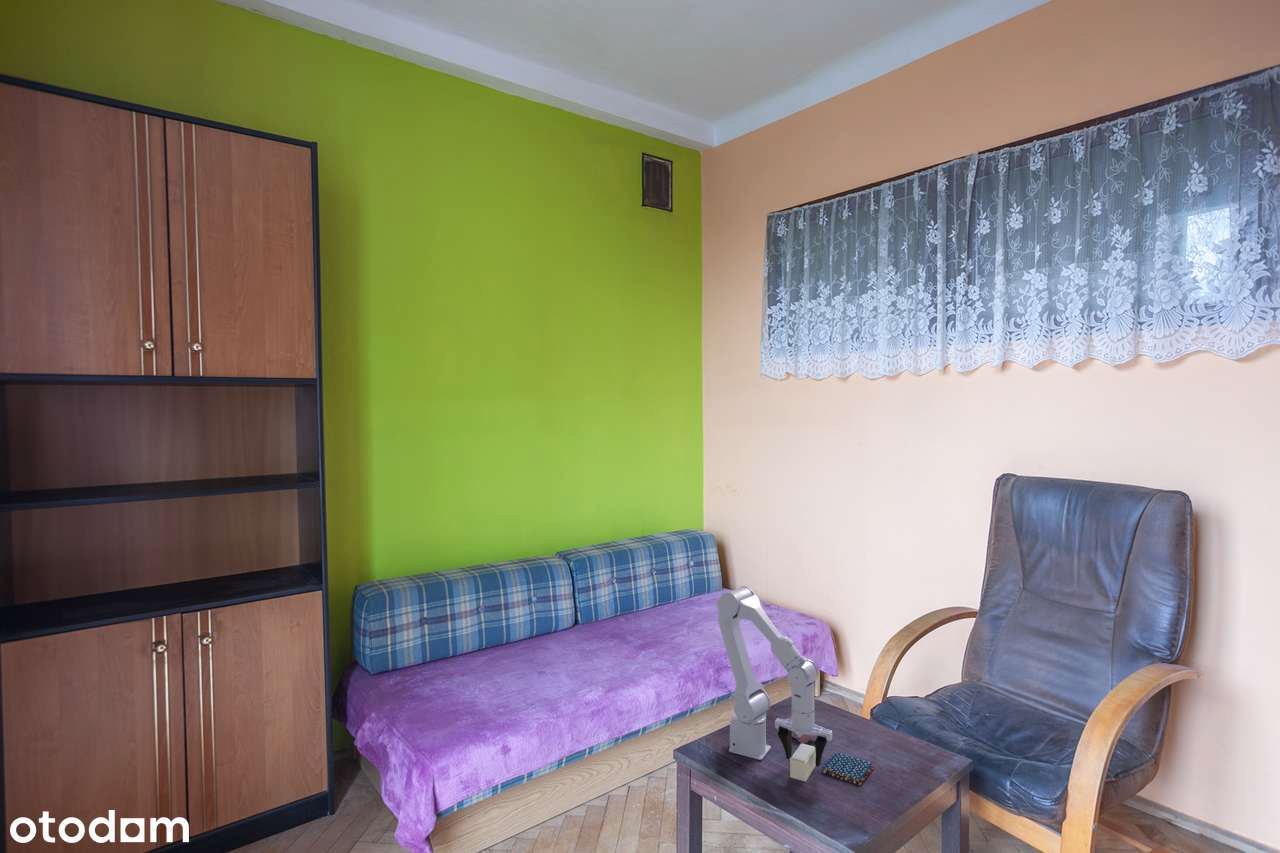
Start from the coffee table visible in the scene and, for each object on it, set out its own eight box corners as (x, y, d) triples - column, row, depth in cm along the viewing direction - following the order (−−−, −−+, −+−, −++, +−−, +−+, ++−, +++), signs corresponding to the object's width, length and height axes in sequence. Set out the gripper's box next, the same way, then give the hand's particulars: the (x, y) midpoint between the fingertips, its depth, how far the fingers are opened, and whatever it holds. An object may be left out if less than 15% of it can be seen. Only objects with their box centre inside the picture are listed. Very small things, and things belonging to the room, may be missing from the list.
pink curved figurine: (798, 724, 197) (778, 729, 194) (798, 710, 197) (779, 714, 194) (820, 742, 188) (800, 748, 186) (821, 727, 188) (801, 732, 185)
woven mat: (861, 788, 165) (861, 780, 165) (820, 774, 172) (820, 766, 171) (875, 770, 173) (875, 762, 173) (835, 757, 180) (835, 750, 180)
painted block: (790, 777, 170) (790, 758, 169) (800, 761, 177) (800, 742, 177) (805, 782, 168) (805, 762, 167) (815, 765, 175) (815, 746, 175)
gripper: (770, 708, 172) (771, 760, 173) (826, 721, 165) (827, 775, 165) (779, 698, 178) (780, 748, 179) (834, 710, 171) (834, 762, 171)
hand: (803, 760), depth 172 cm, fingers open, 7 cm apart
